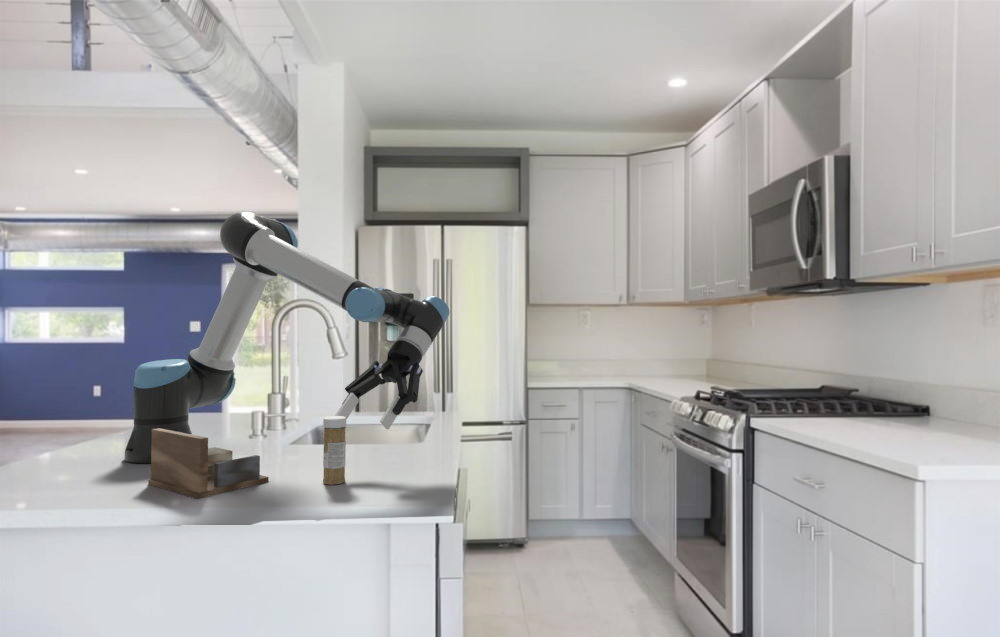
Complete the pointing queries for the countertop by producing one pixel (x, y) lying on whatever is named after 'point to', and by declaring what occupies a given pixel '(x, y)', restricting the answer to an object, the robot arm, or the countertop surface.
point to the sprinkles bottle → (334, 450)
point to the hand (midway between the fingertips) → (360, 422)
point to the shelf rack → (198, 466)
